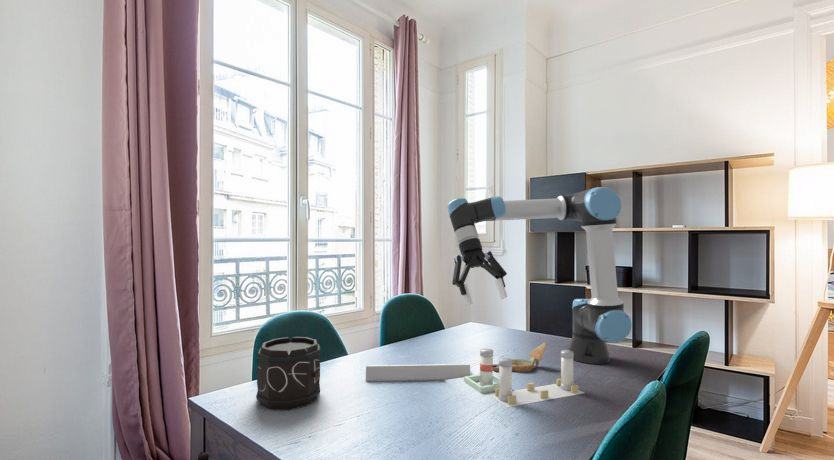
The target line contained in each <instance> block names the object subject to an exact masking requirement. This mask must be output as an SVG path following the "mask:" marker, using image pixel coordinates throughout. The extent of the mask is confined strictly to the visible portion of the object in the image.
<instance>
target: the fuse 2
mask: <svg viewBox="0 0 834 460" xmlns="http://www.w3.org/2000/svg"><path fill="white" fill-rule="evenodd" d="M573 358H574V352H573V351H569V350H568V349H562V350H561V351H560V378H561V389H562V390H565V391H571V386H572V385H575V384H574V360H573Z"/></svg>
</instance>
